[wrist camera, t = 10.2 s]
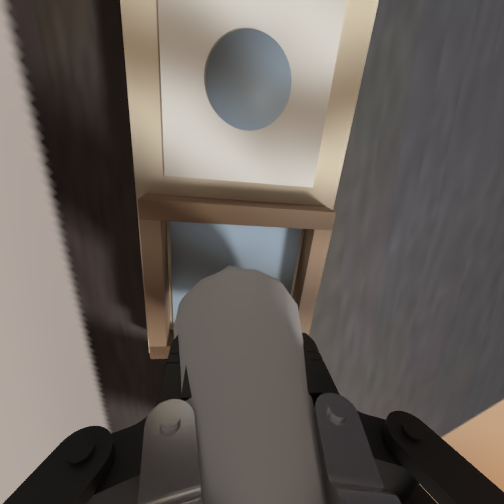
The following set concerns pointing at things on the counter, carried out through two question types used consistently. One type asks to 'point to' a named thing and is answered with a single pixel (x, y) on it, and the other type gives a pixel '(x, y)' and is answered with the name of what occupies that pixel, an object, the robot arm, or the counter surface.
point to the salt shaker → (249, 391)
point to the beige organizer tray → (238, 139)
